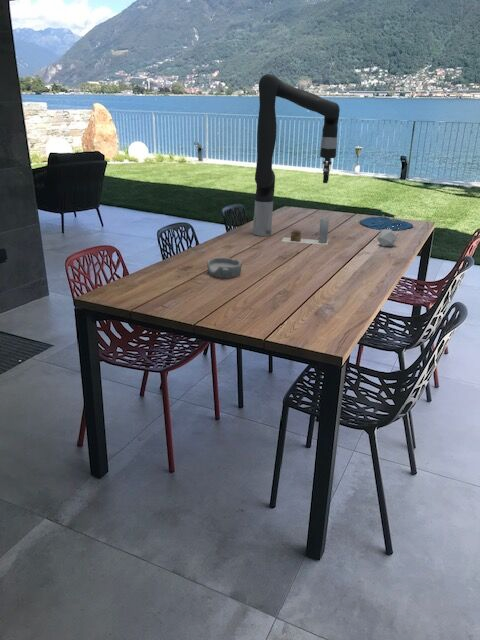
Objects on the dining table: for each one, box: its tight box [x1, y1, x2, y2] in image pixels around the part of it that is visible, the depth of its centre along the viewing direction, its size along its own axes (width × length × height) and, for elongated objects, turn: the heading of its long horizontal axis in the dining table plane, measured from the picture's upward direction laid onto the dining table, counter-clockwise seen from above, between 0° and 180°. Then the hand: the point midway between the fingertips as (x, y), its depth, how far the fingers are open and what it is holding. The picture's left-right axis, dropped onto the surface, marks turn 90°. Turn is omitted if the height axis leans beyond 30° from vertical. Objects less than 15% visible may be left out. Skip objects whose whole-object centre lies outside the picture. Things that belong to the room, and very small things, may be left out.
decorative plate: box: [359, 214, 414, 231], centre depth 305 cm, size 30×30×5 cm
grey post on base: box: [281, 218, 330, 246], centre depth 256 cm, size 22×8×12 cm, turn 79°
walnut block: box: [290, 229, 302, 243], centre depth 258 cm, size 4×4×4 cm
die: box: [376, 229, 398, 247], centre depth 259 cm, size 8×9×10 cm
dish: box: [206, 257, 243, 279], centre depth 211 cm, size 14×14×5 cm
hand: (325, 182), depth 260 cm, fingers open, 8 cm apart
